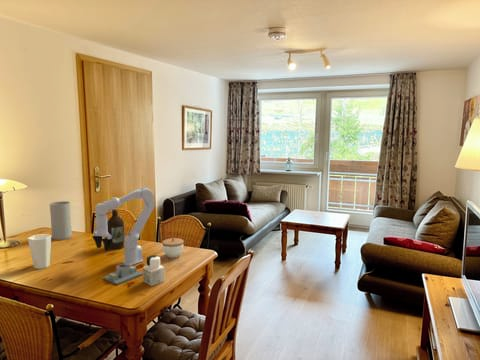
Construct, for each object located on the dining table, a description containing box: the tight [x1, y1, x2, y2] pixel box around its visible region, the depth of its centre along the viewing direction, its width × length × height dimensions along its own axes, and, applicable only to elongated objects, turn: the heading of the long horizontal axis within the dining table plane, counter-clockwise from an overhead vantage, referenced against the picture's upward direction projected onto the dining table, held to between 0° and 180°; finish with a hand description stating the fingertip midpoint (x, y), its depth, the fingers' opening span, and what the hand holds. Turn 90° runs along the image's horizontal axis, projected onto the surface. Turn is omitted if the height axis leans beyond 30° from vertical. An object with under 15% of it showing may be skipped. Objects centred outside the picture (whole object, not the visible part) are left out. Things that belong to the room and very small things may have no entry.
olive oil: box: [107, 208, 125, 250], centre depth 220 cm, size 11×11×25 cm
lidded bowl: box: [161, 237, 185, 259], centre depth 206 cm, size 13×13×11 cm
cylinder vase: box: [49, 200, 73, 241], centre depth 241 cm, size 12×12×25 cm
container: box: [142, 254, 166, 287], centre depth 170 cm, size 8×8×13 cm
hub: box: [115, 263, 130, 278], centre depth 175 cm, size 5×5×5 cm
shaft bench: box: [102, 265, 143, 286], centre depth 176 cm, size 15×12×4 cm
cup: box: [27, 233, 52, 270], centre depth 188 cm, size 11×10×17 cm
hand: (103, 249), depth 189 cm, fingers open, 7 cm apart
